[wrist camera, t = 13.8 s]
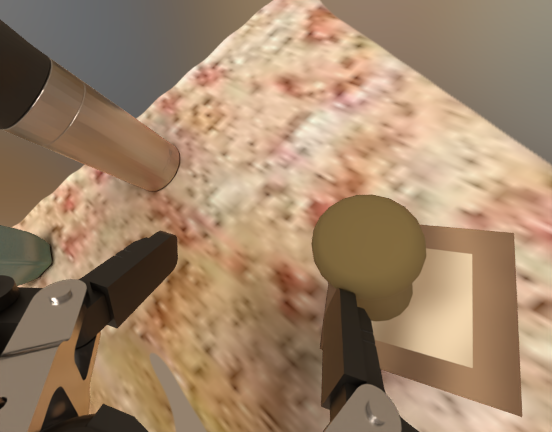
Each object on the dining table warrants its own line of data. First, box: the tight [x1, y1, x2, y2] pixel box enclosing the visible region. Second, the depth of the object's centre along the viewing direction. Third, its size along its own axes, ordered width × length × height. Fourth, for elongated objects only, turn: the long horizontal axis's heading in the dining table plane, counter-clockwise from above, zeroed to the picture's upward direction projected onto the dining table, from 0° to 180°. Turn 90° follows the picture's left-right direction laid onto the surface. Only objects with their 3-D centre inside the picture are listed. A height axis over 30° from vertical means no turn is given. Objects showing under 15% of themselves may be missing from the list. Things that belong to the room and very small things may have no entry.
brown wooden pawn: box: [312, 195, 426, 322], centre depth 14 cm, size 6×6×11 cm
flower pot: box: [0, 225, 52, 286], centre depth 40 cm, size 9×9×9 cm
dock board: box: [320, 225, 522, 417], centre depth 19 cm, size 13×12×3 cm
